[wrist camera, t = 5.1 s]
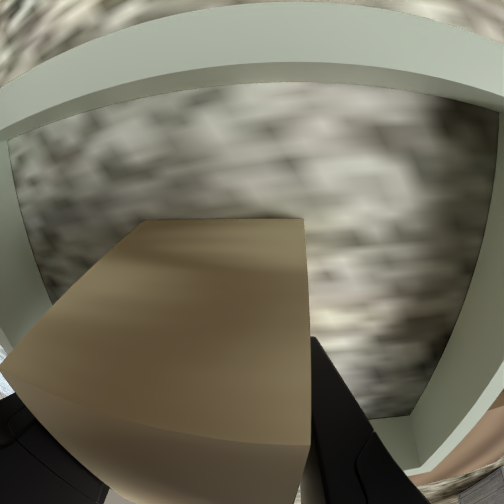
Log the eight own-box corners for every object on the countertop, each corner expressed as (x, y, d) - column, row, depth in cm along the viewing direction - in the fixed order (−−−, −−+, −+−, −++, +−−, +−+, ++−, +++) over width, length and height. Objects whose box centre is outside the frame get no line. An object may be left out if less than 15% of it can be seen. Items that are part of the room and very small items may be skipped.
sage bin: (90, 397, 14) (69, 435, 11) (-8, 122, 7) (-66, 140, 5) (420, 423, 11) (430, 471, 9) (520, 88, 5) (589, 97, 2)
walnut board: (385, 481, 16) (386, 491, 15) (447, 403, 11) (452, 419, 10) (494, 452, 14) (496, 461, 13) (566, 367, 9) (572, 377, 8)
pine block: (179, 365, 11) (126, 499, 6) (144, 220, 8) (-3, 367, 3) (295, 374, 10) (284, 529, 5) (303, 218, 8) (310, 445, 2)
